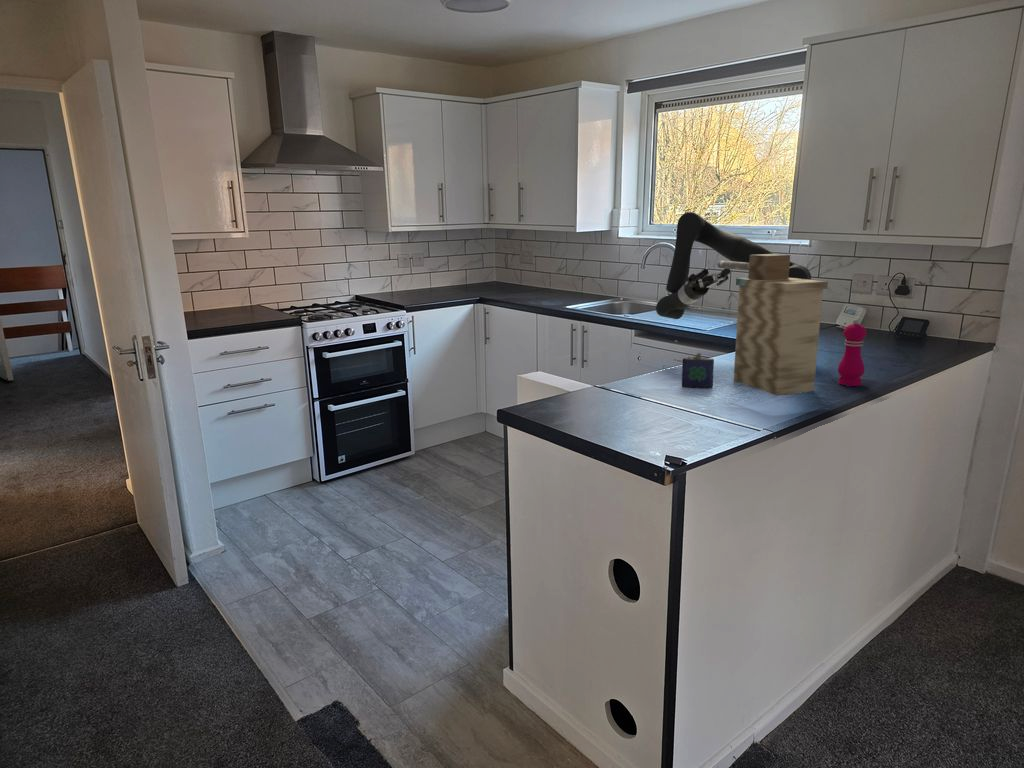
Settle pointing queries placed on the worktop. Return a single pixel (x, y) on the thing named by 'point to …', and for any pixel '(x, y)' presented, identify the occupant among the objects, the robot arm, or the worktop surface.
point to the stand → (778, 334)
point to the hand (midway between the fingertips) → (718, 270)
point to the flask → (697, 372)
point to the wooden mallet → (762, 266)
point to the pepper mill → (852, 355)
